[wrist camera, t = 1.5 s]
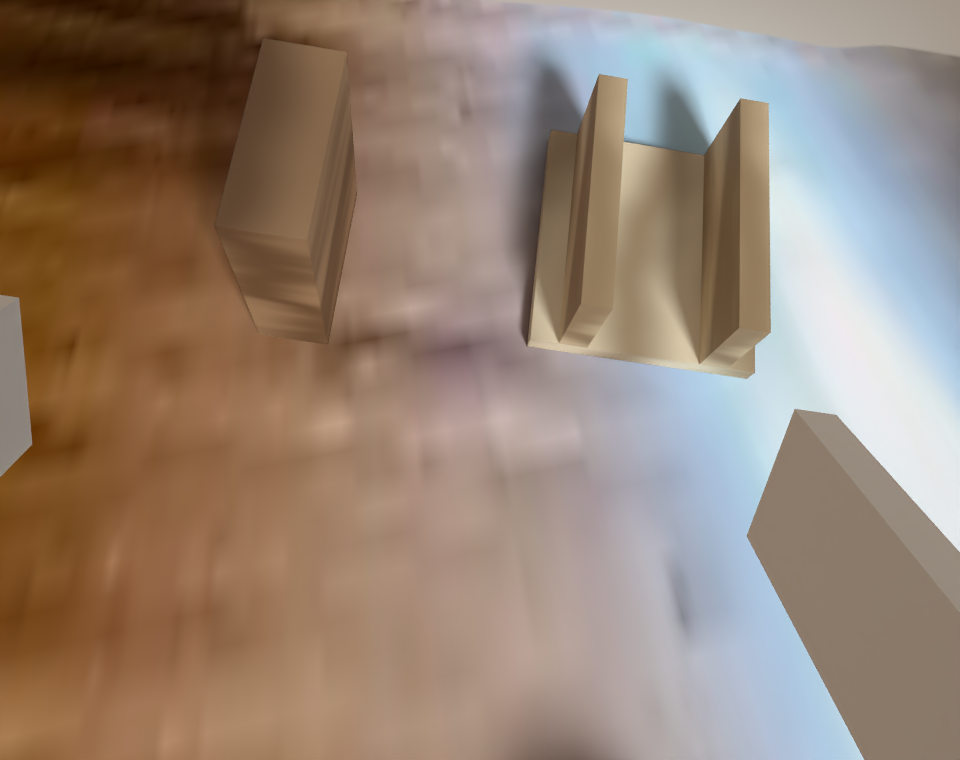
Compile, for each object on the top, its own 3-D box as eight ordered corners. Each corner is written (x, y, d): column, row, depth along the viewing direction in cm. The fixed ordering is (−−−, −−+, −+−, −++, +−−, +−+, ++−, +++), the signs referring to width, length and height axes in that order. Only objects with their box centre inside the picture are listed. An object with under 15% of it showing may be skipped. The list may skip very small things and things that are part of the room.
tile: (356, 194, 44) (346, 52, 33) (327, 344, 41) (306, 239, 30) (293, 184, 43) (263, 37, 33) (259, 334, 40) (214, 225, 30)
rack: (747, 173, 47) (796, 107, 41) (746, 378, 42) (801, 337, 37) (548, 140, 46) (570, 69, 40) (527, 346, 42) (549, 298, 36)
